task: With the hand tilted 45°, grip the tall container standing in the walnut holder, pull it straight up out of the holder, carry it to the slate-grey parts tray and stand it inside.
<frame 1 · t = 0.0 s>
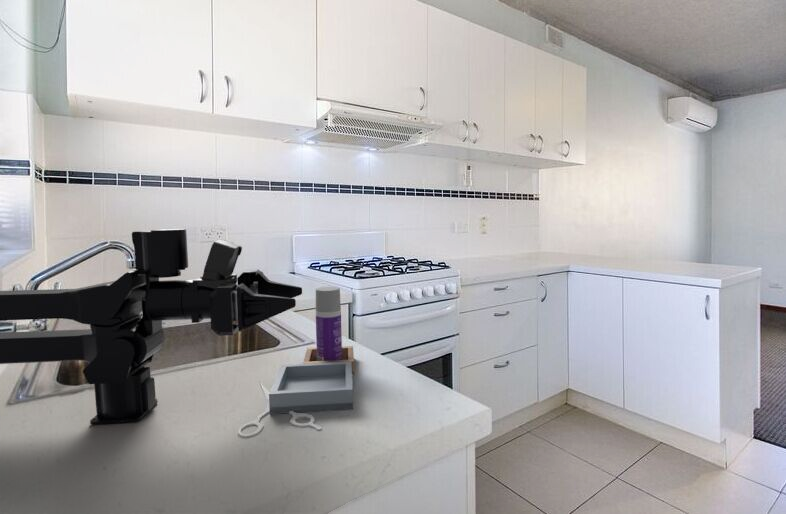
hand: (299, 296, 63), 17 cm above the countertop, tool horizontal, fingers open, 9 cm apart
container: (329, 368, 80), resting in holder
parts tray: (314, 394, 68), on the countertop
scissors: (275, 408, 65), on the countertop
holder: (329, 367, 80), on the countertop
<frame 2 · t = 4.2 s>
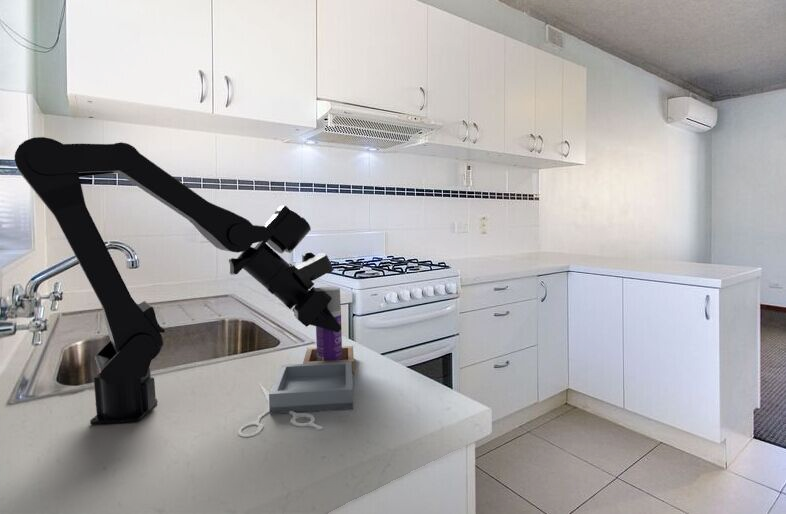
hand: (336, 327, 80), 8 cm above the countertop, tool tilted 45°, fingers closed on container, 5 cm apart
container: (329, 368, 80), resting in holder, touching gripper
everything else where it was.
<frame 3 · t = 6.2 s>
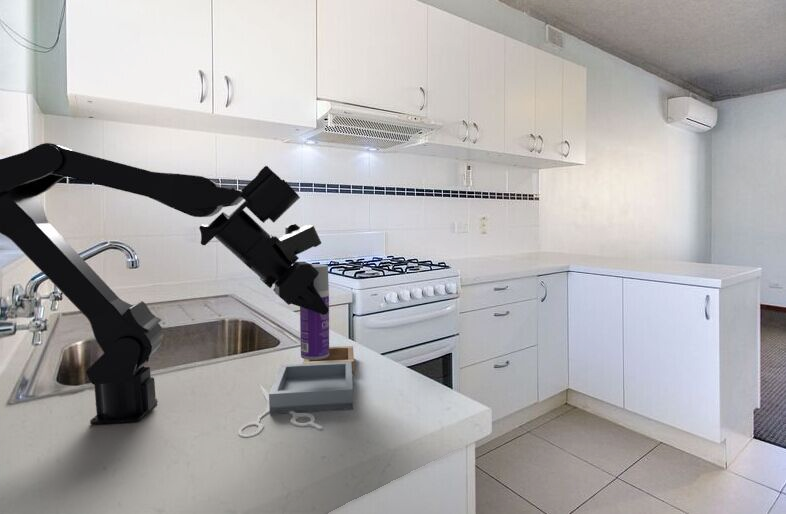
hand: (322, 309, 71), 13 cm above the countertop, tool tilted 45°, fingers closed on container, 5 cm apart
container: (315, 356, 71), point 5 cm above the countertop, touching gripper
everything else where it was.
when the fingers open (9 cm above the countertop, at t = 8.1 s): container stays where it is, resting on parts tray.
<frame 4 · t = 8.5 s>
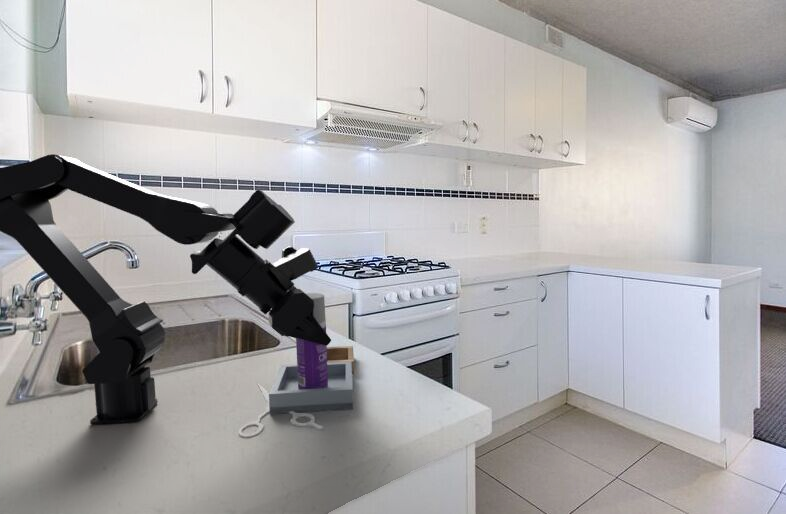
hand: (321, 335, 68), 10 cm above the countertop, tool tilted 45°, fingers open, 9 cm apart
container: (313, 389, 68), point 1 cm above the countertop, touching parts tray
everything else where it was.
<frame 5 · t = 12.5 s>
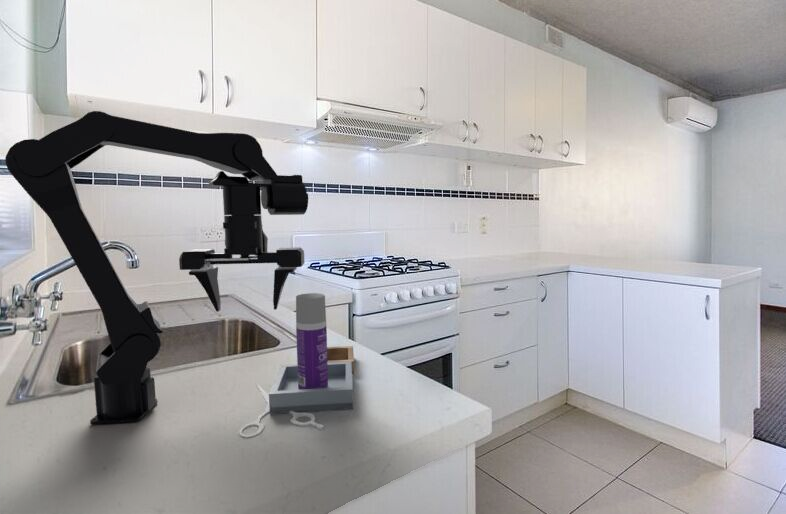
hand: (247, 310, 71), 13 cm above the countertop, tool pointing down, fingers open, 9 cm apart
nothing on the countertop moved.
at the end: container inside the target area on the parts tray (0.2 cm from its centre), point 0.8 cm above the parts tray's base; container tilted 0°; the gripper is holding nothing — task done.
